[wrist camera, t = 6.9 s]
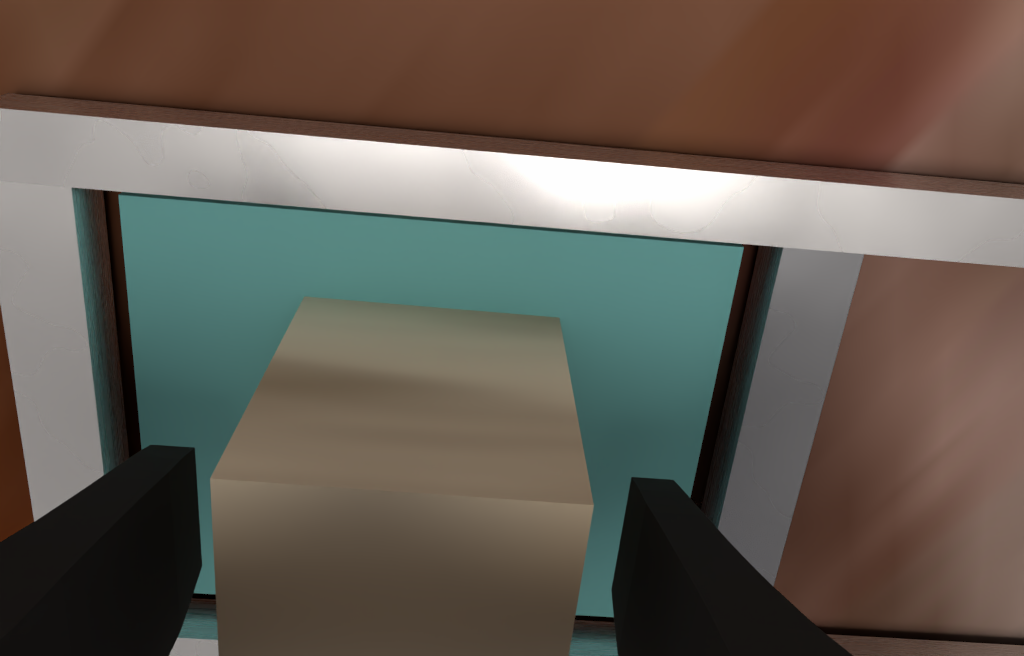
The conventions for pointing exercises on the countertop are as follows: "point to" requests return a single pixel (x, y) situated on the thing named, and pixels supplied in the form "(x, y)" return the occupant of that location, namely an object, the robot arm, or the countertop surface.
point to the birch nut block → (404, 489)
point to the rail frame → (452, 294)
